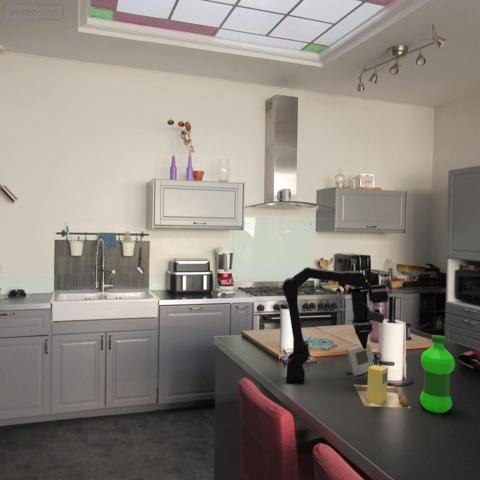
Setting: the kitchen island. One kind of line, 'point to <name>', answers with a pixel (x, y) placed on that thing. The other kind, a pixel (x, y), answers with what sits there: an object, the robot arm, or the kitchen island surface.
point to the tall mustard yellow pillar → (377, 384)
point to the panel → (391, 402)
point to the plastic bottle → (437, 376)
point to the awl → (403, 400)
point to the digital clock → (359, 359)
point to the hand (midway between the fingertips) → (363, 346)
